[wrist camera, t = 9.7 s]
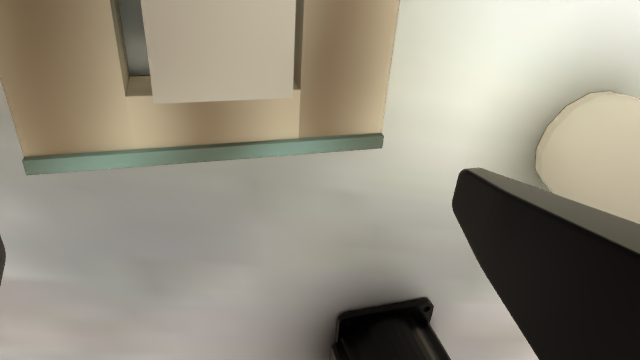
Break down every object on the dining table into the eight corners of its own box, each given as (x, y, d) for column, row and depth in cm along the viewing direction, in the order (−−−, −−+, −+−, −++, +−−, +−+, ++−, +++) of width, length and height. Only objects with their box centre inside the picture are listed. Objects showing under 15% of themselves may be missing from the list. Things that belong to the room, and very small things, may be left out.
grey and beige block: (260, -67, 17) (297, -48, 12) (260, 44, 20) (293, 97, 15) (143, -72, 16) (133, -55, 11) (157, 46, 18) (153, 104, 13)
